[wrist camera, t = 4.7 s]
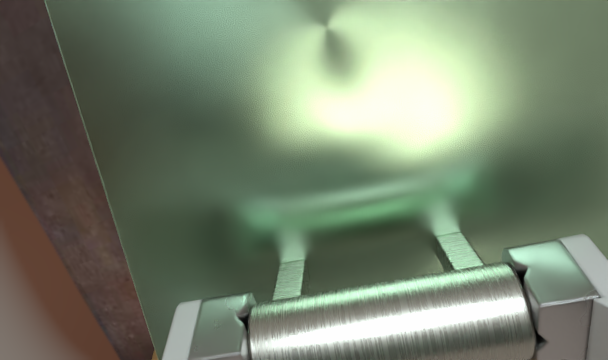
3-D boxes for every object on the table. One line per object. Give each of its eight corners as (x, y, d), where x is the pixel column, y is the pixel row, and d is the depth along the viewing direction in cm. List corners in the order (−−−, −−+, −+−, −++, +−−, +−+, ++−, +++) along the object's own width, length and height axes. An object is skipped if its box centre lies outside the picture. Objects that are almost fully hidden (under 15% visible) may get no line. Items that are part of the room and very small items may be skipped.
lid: (617, 292, 14) (776, 427, 9) (172, 364, 15) (95, 516, 10) (564, -484, 10) (799, -1017, 5) (-34, -298, 11) (-323, -575, 6)
